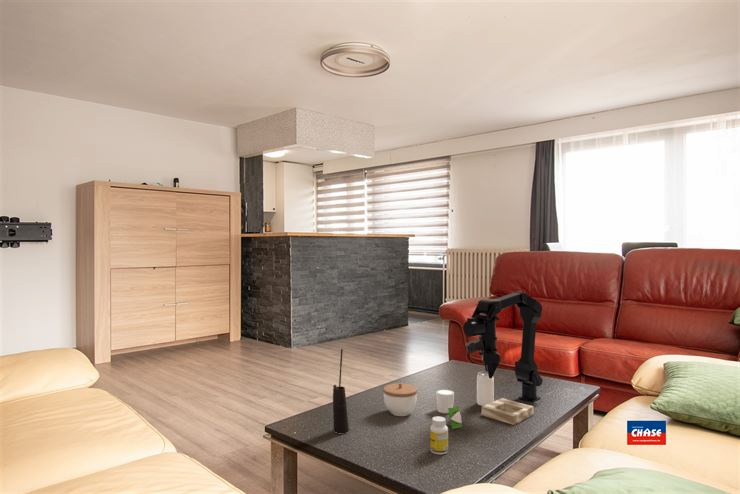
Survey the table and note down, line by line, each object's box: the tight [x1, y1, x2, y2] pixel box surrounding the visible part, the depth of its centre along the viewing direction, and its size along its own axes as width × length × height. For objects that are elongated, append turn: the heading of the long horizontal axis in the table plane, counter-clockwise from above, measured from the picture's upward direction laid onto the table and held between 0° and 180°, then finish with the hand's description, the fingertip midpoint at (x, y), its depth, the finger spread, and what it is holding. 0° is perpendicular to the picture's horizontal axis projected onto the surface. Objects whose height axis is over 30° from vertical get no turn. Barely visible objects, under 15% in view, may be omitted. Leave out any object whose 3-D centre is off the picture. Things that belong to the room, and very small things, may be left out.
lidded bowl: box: [382, 382, 418, 417], centre depth 171 cm, size 13×13×11 cm
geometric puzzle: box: [446, 406, 466, 430], centre depth 158 cm, size 7×7×8 cm
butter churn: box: [332, 348, 350, 434], centre depth 155 cm, size 9×10×28 cm
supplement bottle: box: [429, 415, 449, 455], centre depth 139 cm, size 5×5×10 cm
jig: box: [481, 397, 535, 426], centre depth 169 cm, size 14×13×3 cm
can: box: [476, 371, 495, 407], centre depth 180 cm, size 6×6×12 cm
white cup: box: [435, 389, 455, 414], centre depth 173 cm, size 7×7×7 cm
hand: (488, 374), depth 174 cm, fingers open, 9 cm apart
